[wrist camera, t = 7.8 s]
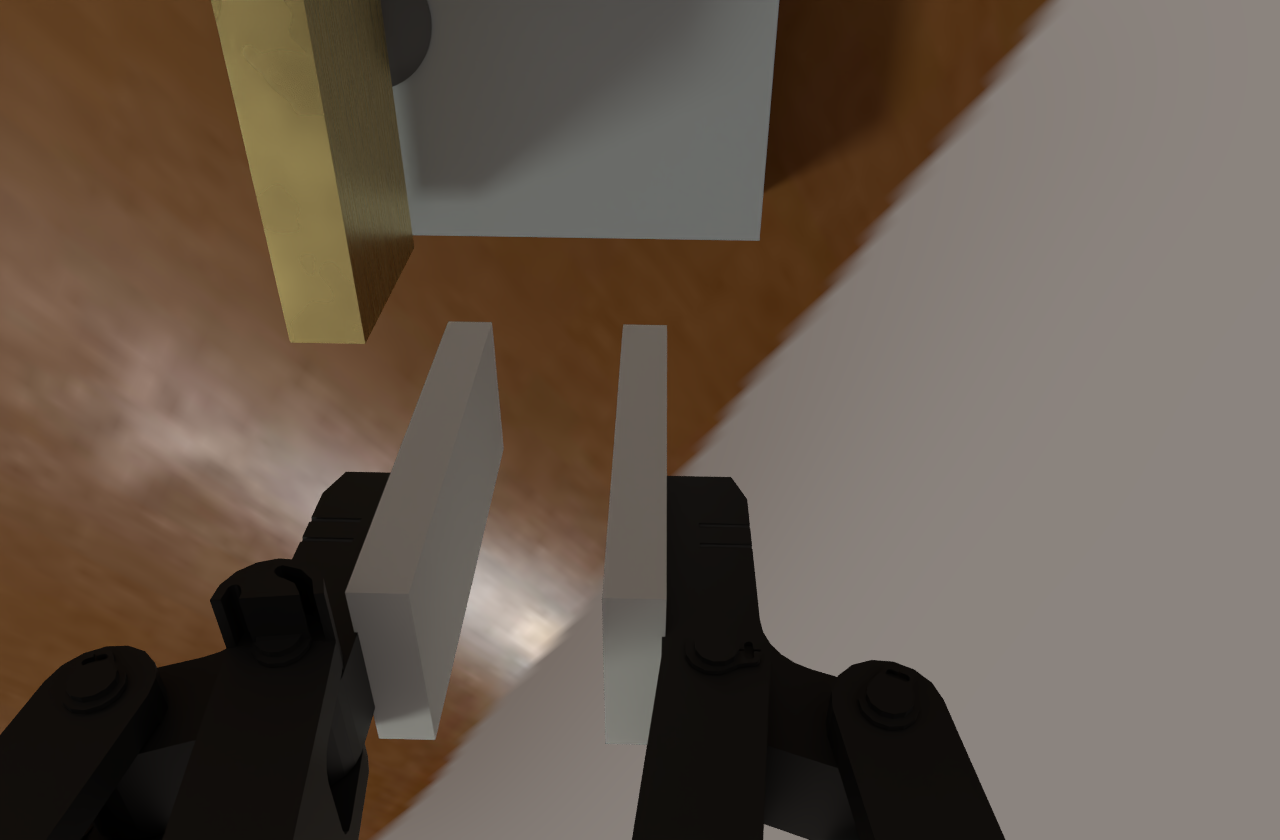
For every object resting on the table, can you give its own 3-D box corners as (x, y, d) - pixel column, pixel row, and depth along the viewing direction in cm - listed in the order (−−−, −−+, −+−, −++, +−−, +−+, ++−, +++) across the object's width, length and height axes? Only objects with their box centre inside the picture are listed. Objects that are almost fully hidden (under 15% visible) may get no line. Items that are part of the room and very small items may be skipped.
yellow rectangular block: (422, 231, 31) (365, 343, 26) (361, 230, 31) (290, 342, 26) (358, -255, 24) (257, -256, 18) (278, -256, 24) (151, -257, 18)
